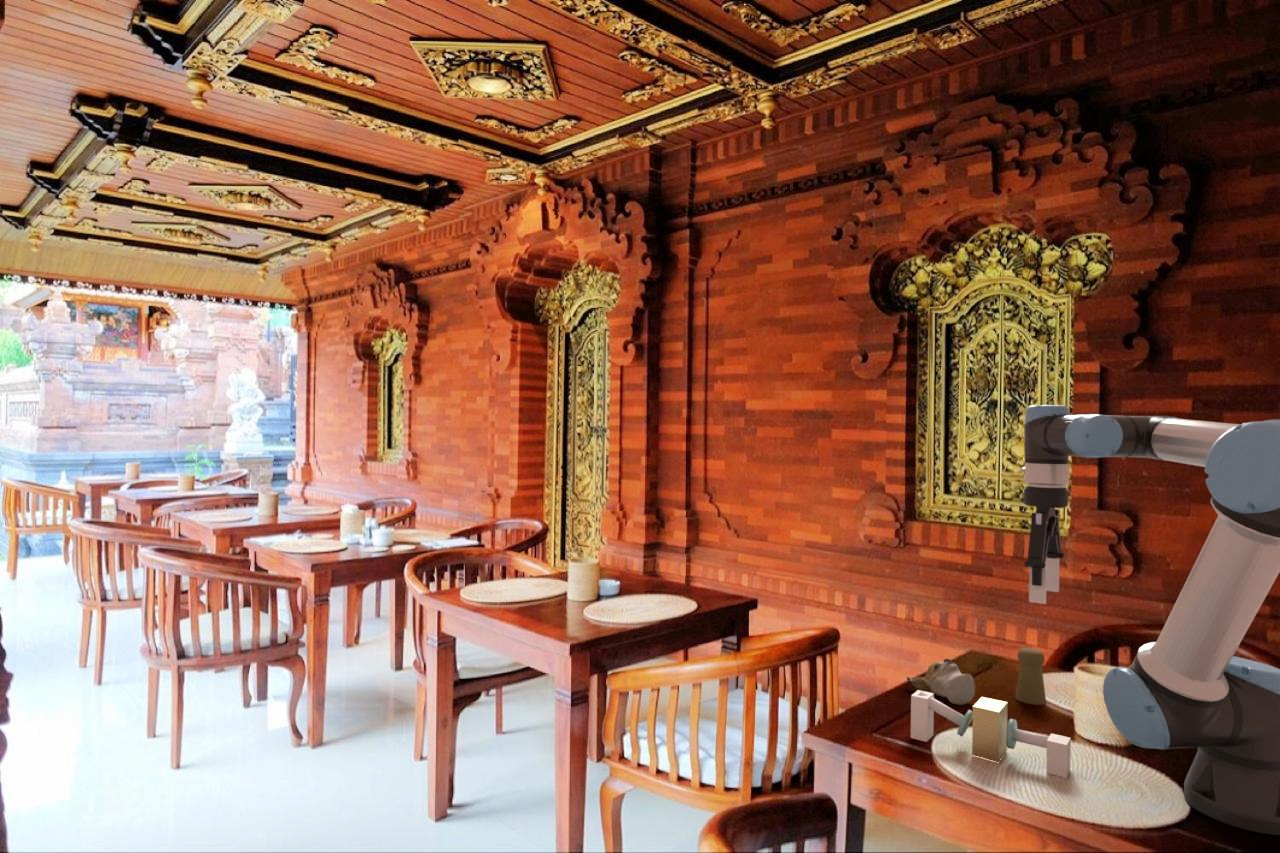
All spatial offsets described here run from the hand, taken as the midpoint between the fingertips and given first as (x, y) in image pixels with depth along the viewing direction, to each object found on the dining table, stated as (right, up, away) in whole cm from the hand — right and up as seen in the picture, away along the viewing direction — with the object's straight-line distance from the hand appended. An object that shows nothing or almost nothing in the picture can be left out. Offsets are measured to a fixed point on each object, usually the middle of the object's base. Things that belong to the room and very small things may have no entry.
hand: (1044, 596), depth 146 cm
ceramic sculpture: (-10, -27, +21) cm, 36 cm away
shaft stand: (-14, -27, -8) cm, 31 cm away
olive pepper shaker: (+8, -27, +20) cm, 35 cm away
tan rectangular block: (-14, -27, -8) cm, 31 cm away
